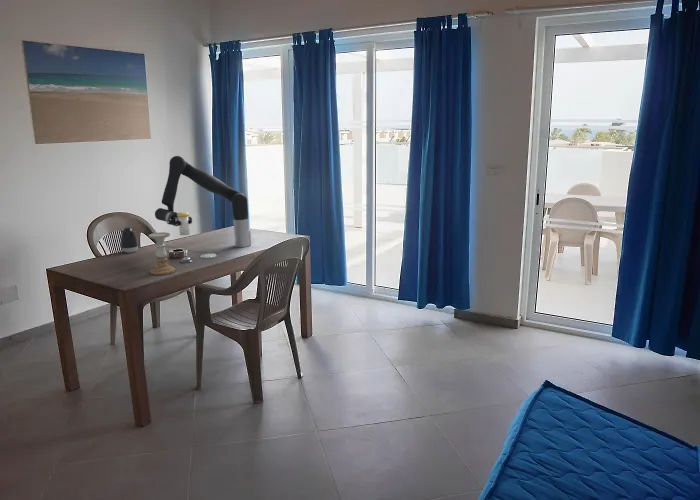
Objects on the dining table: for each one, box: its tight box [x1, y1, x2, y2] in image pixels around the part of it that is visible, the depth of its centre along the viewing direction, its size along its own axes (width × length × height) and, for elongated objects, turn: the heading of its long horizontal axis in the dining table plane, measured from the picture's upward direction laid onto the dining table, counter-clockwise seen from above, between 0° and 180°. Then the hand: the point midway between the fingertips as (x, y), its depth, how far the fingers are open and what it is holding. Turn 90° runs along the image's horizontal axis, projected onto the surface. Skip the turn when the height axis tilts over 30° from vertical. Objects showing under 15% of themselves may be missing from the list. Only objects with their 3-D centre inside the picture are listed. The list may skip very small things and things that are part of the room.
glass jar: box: [177, 211, 190, 236], centre depth 293 cm, size 6×6×12 cm
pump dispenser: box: [119, 227, 139, 254], centre depth 320 cm, size 10×10×15 cm
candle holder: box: [148, 232, 176, 276], centre depth 275 cm, size 12×12×20 cm
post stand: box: [180, 256, 194, 264], centre depth 298 cm, size 7×7×2 cm
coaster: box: [200, 253, 217, 259], centre depth 309 cm, size 9×9×1 cm
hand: (185, 222), depth 291 cm, fingers closed on glass jar, 5 cm apart
